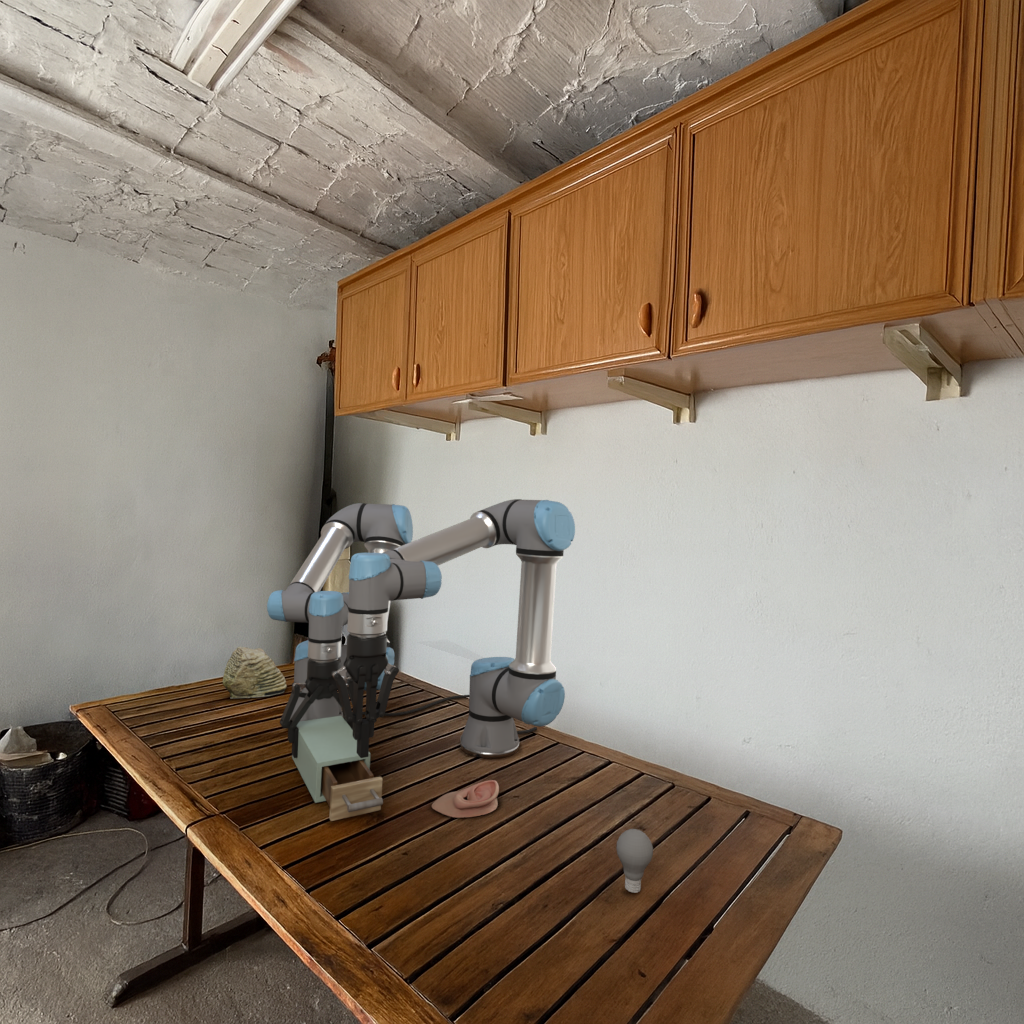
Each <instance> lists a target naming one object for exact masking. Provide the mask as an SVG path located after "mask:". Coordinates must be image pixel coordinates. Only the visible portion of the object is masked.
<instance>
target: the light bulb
mask: <svg viewBox="0 0 1024 1024" xmlns="http://www.w3.org/2000/svg"><path fill="white" fill-rule="evenodd" d="M615 849H616V854H617V857H618V859H619V861H620V863H621V865H622V867H623V873H624V874H623V875H624V876H625V878H624V888H625V890H627V891H628V892H630V893H634V894H635V893H639V892H640V891H641V889H642V887H641V886H642V879H643V877H644V875H645V871H646V868H647V867H648V866H649V864H650V863H651V861H652V859H653V855H654V847H653V843H652V841H651V838H649V836H648V835H647V834H646V833H645V832H643V831H642V830H641V829H636V828H629V829H627V830H625V831H623V832H622V833H621V834H620V835H619V837H618V839H617V841H616V847H615Z"/></svg>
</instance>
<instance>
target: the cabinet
mask: <svg viewBox="0 0 1024 1024" xmlns="http://www.w3.org/2000/svg"><path fill="white" fill-rule="evenodd" d="M297 728H298V729H299V733H298V758H294V757H293V755H292V754H291V759H292V760H293V762H294V764H295V766H296V769H297V771H298V773H299V775H300V776H301V778H302V780H303V782H304V784H305V786H306V787H307V790H308V792H309V794H310V795H311V797H312V800H313V802H314V803H315V804H317V803H322V802H327V801H326V799H325V797H324V796H323V794H322V792H321V776H322V767H324V766H329V765H335V764H340V763H346V762H351V761H357V760H363V761H364V763H365V764H366V765H367V767H368V768H369V769H370V768H371V752H370V751H369V756H368V757H364V758H360V756H359V755H358V754H357V740H355V739H354V738H353V730H352V729H351V727H350V726H349V725H348V723H347V722H346V721H345V720H344V716H343V717H342V716H335V717H328V718H321V719H314V720H307V721H300V722H299V723H298V724H297ZM370 770H371V769H370Z"/></svg>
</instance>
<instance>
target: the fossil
mask: <svg viewBox="0 0 1024 1024" xmlns="http://www.w3.org/2000/svg"><path fill="white" fill-rule="evenodd" d="M222 676H223V677H222V685H223V687H224V688H225V690H226V691H228V693H229V698H230V699H250V698H264V697H271V696H275V695H281V694H284V693H285V691H286V689H287V687H288V686H287V680H286V678H285V676H284V674H283V673H282V672H281V669H279V668H278V667H277V665H276V663H275V662H274V660H273V659H272V658H271V657H270V656H269V655H268V654H267V653H266V652H265V650H264V649H263V648H260V647H258V648H251V647H247V646H246V647H245V646H238V647H237V648H236V649H235V650H233V651H232V653H231V656H230V657H229V659H228V660H227V663H226V666H225V668H224V671H223V675H222Z"/></svg>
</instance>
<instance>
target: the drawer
mask: <svg viewBox="0 0 1024 1024" xmlns="http://www.w3.org/2000/svg"><path fill="white" fill-rule="evenodd" d="M374 776H375V775H374V773H373V772H372V770H371V769H369V768H368V767H367V765H366V764H365V763H364V761H363V760H357V761H351V762H346V763H340V764H335V765H329V766H324V767H322V776H321V792H322V794H323V796H324V797H325V799H326V801H325V802H326V803H327V806H329V817H328V818H329V821H330V822H334V821H338V820H342V819H347V818H351V817H357V816H361V815H365V814H369V813H373V812H379V811H382V806H383V805H384V799H383V797H382V795H383V778H382V776H376V777H374Z"/></svg>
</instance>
